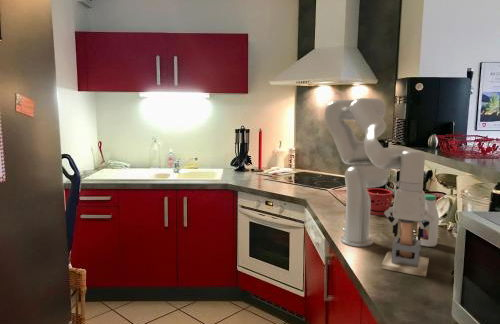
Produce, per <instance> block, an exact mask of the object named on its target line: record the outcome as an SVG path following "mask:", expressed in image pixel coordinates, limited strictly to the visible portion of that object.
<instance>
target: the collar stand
mask: <svg viewBox="0 0 500 324" xmlns="http://www.w3.org/2000/svg"><path fill="white" fill-rule="evenodd" d="M421 248H422V245H421V240H417V239H415V238H413V245H407V244H400V236H398V235H397V236H396V237H394V239H393V242H392V247H391V251H390V250H389V251H387V252H386V253H385V256H384V258H383V260H382V262H381V264H380V265H381V267H380V268H381V269H383V270H387V271H393V272H399V273H403V274H404V273H405V274H410V275H414V276H415V275H416V276H420V277H427V273H428V267H429V264H430V263H429V262H430V258H429V257H426V256H425V257H424V256H421ZM400 250H401V251H407V252H412V258H408V257H402V256H400Z"/></svg>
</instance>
